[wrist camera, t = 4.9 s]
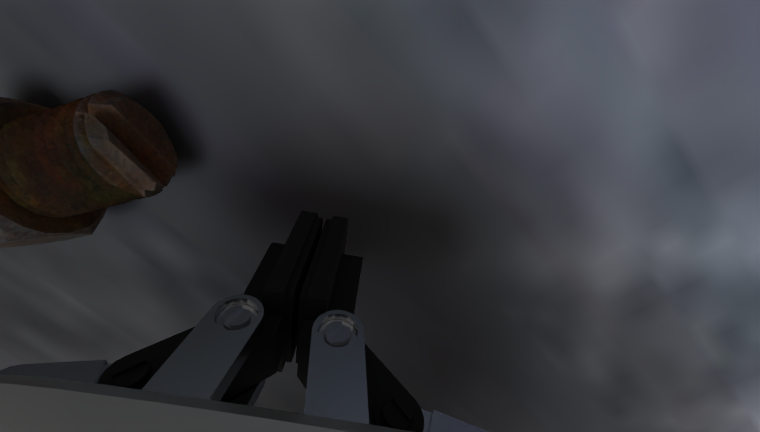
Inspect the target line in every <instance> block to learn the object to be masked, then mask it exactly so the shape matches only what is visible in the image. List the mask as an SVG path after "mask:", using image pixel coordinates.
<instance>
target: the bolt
mask: <svg viewBox="0 0 760 432" xmlns="http://www.w3.org/2000/svg"><path fill="white" fill-rule="evenodd" d="M176 168H177V155H176V152H175V150H174V147H173V145H172V142H171V140H170V139H169V137H168V135H167V133H166V131H165V130H164V128H163V126H162V125H161V124H160V122H159V121H158V120H157V119H156V118H155V117H154V116H153V115H152V114H151V113H150V112H149V111H147V110H146V109H145V108H144V107H142V106H141V105H140V104H139V103H137V102H136V101H134V100H133V99H131V98H129V97H128V96H126V95H124V94H122V93H120V92H117V91H112V90H107V91H101V92H99V93H98V94H91V95H89V96H87V97H85V98H81V99H78V100H75V101H73V102H71V103H68V104H62V105H59V106H58V107H53V108H48V107H44V106H41V105H38V104H35V103H30V102H25V101H20V100H15V99H10V98H3V97H0V248H3V247H15V246H24V245H33V244H42V243H49V242H56V241H63V240H69V239H73V238H77V237H82V236H86V235H90V234H92V233H93V232H94V230H95V229H96V227H97V226H98V224H99V223H100V221H101V220H102V218H103V216H104V214H105V212H106V210H107V208H108V207H110V206H112V205H118V204H120V203H126V202H129V201H132V200H135V199H141V198H144V197H150V196H153V195H157V194H158V193H160V192H161V191H163V190H162V188H164V186H167V185H168V183H169V182H170V179H171V177H173V176H174V175H175V172H176Z"/></svg>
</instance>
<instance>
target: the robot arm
mask: <svg viewBox="0 0 760 432" xmlns="http://www.w3.org/2000/svg"><path fill="white" fill-rule="evenodd" d="M322 222H323V219H322V218H318V214H317V213H313V212H307V211H301V213H300V215H299V217H298V219H297V221H296V223H295V225H294V227H293V229H292V231H291V233H290V235H289V237H288V239H287V241H286V243H285V244H279V243H272V244H271V245H270V247H269V248H268V250H267V252H266V254H265V256H264V258H263V259H262V261H261V263H260V265H259V267H258V268H257V270H256V272H255V274H254V276H253V278H252V279H251V281H250V283H249V285H248V287H247V289H246V290H245V292H244V294H240V295H232V296H228V297H225V298H224V299H222V300H220V301H218V302H217V303H216V304H215V305H214V306H213V307H212V308H211V309H210V310H209V311H208V312H207V314H206V315H205V316H204V317H203V318H202V319H201V321H200V322H199V323H198V324H197V325H196V326H195V327H193V328H191V329H188V330H186V331H184V332H181V333H179V334H177V335H174V336H172V337H169V338H167V339H165V340H162V341H160V342H158V343H155V344H153V345H151V346H148V347H146V348H143V349H141V350H139V351H136V352H134V353H132V354H129V355H127V356H125V357H123V358H121V359H119V360H117V361H115V362H114V363H112V364H108V363H107V361H106V360H92V361H73V362H54V363H36V364H21V365H16V366H10V367H8V368H5V369H3V370H0V432H488V431H486V430H483V429H481V428H478V427H476V426H473V425H471V424H468V423H466V422H463V421H461V420H458V419H456V418H453V417H451V416H448V415H446V414H443V413H441V412H438V411H436V410H433V412H432V413H431V412H428V411H426V410H423V409H421V408H420V406H419V405H418V403H417V402H416V400H415V399H414V398H413V397H412V396H411V395H410V394H409V392H408V391H407V390H406V389H405V388H404V387H403V386H402V385H401V383H400V382H399V381H398V380H397V379H396V378H395V377H394V376H393V374H392V373H391V372H390V371H389V370H388V369H387V368H386V367H385V366H384V364H383V363H382V362H381V361H380V360H379V359H378V358H377V357H376V355H375V354H374V353H373V352H372V351H371V350H370V349H369V348H368V347H367V345H366V344H365V342H364V329H363V325H362V323H361V322H360V320H359V319H358V318H357V317H356V316H355V315H354V309H355V303H356V297H357V290H358V284H359V278H360V272H361V266H362V260H363V257H357V256H351V255H345V254H344V249H345V242H346V235H347V227H348V218H342V217H336V216H333V218H332V220H330V219H327V220H326V222H325V225H324V228H323V231H322ZM321 233H322V234H321ZM296 346H297V351H296V363H298V371H297V377H298V378H299V380H300V381H301V382H302V384H303V385H304V387H305V388H306V399H305V409H304V414H300V413H294V412H287V411H280V410H274V409H267V408H260V407H254V404H255V402H256V400H257V398H258V396H259V395H260V393H261V391H262V389H263V387H264V384H265V379H266V378H268V377H270V376H271V375H273V374H275V373H276V372H277V371H279V372H282V370H283V367H284V364H285V361H286V362H291V361H292V359H293V356H294V352H295V349H296Z"/></svg>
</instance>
